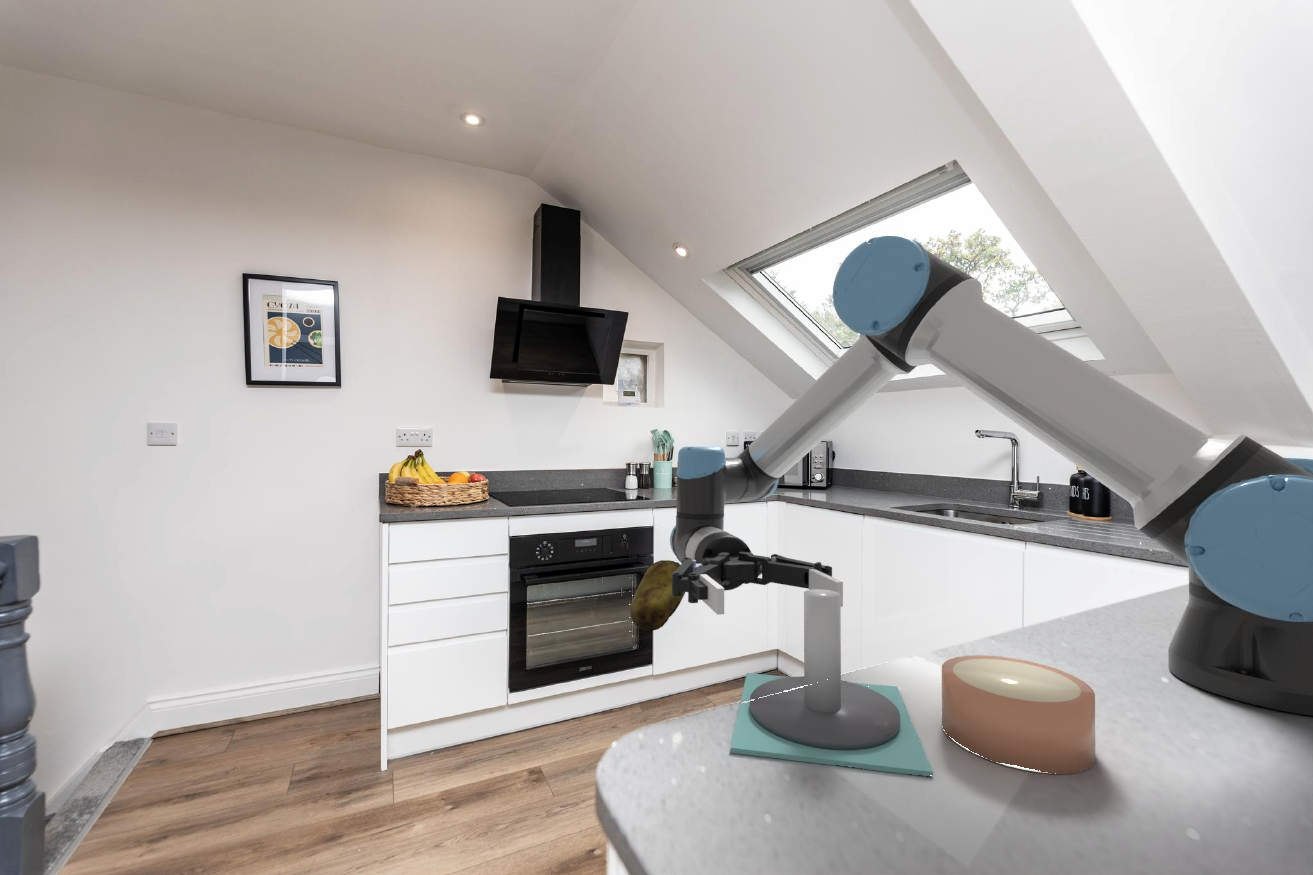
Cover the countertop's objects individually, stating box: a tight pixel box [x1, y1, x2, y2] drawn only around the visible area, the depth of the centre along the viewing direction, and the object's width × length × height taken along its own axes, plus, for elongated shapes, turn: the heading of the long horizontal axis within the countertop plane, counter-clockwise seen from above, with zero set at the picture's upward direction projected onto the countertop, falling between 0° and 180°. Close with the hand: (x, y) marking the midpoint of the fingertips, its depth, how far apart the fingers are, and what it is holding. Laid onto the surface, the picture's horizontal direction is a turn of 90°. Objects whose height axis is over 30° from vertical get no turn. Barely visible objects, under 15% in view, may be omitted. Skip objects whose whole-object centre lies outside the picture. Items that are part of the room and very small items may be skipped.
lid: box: [750, 589, 900, 750], centre depth 54 cm, size 13×13×11 cm
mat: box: [730, 672, 934, 777], centre depth 53 cm, size 15×16×1 cm
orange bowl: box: [941, 654, 1096, 775], centre depth 50 cm, size 11×11×5 cm
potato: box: [629, 559, 686, 633], centre depth 82 cm, size 8×13×8 cm, turn 146°
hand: (781, 598), depth 63 cm, fingers open, 13 cm apart
